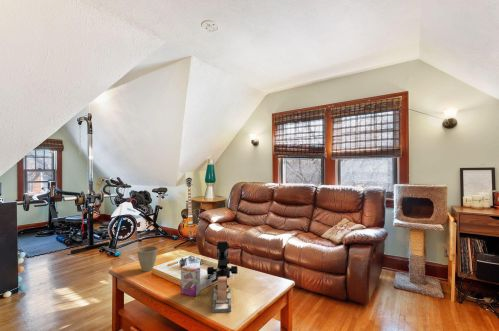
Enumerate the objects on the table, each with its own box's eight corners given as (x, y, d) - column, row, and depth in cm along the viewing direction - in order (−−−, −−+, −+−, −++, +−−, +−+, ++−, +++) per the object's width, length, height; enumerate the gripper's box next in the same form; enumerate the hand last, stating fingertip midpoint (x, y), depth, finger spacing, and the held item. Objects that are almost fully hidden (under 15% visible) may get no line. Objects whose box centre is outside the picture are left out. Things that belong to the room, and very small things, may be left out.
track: (214, 294, 158) (214, 288, 158) (230, 293, 159) (230, 287, 159) (212, 312, 139) (212, 305, 139) (231, 311, 139) (231, 304, 140)
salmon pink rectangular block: (216, 296, 152) (216, 276, 152) (228, 296, 152) (228, 275, 152) (215, 303, 145) (215, 281, 145) (228, 302, 145) (228, 280, 145)
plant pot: (137, 275, 187) (137, 253, 187) (136, 267, 201) (137, 247, 201) (158, 271, 193) (158, 250, 194) (157, 264, 207) (157, 245, 207)
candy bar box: (180, 294, 159) (180, 267, 159) (185, 290, 163) (185, 264, 164) (196, 297, 155) (196, 269, 155) (200, 293, 160) (200, 266, 160)
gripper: (207, 254, 159) (205, 279, 148) (237, 253, 161) (238, 278, 149) (208, 262, 167) (206, 287, 155) (236, 261, 168) (237, 285, 157)
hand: (222, 284), depth 154 cm, fingers closed
